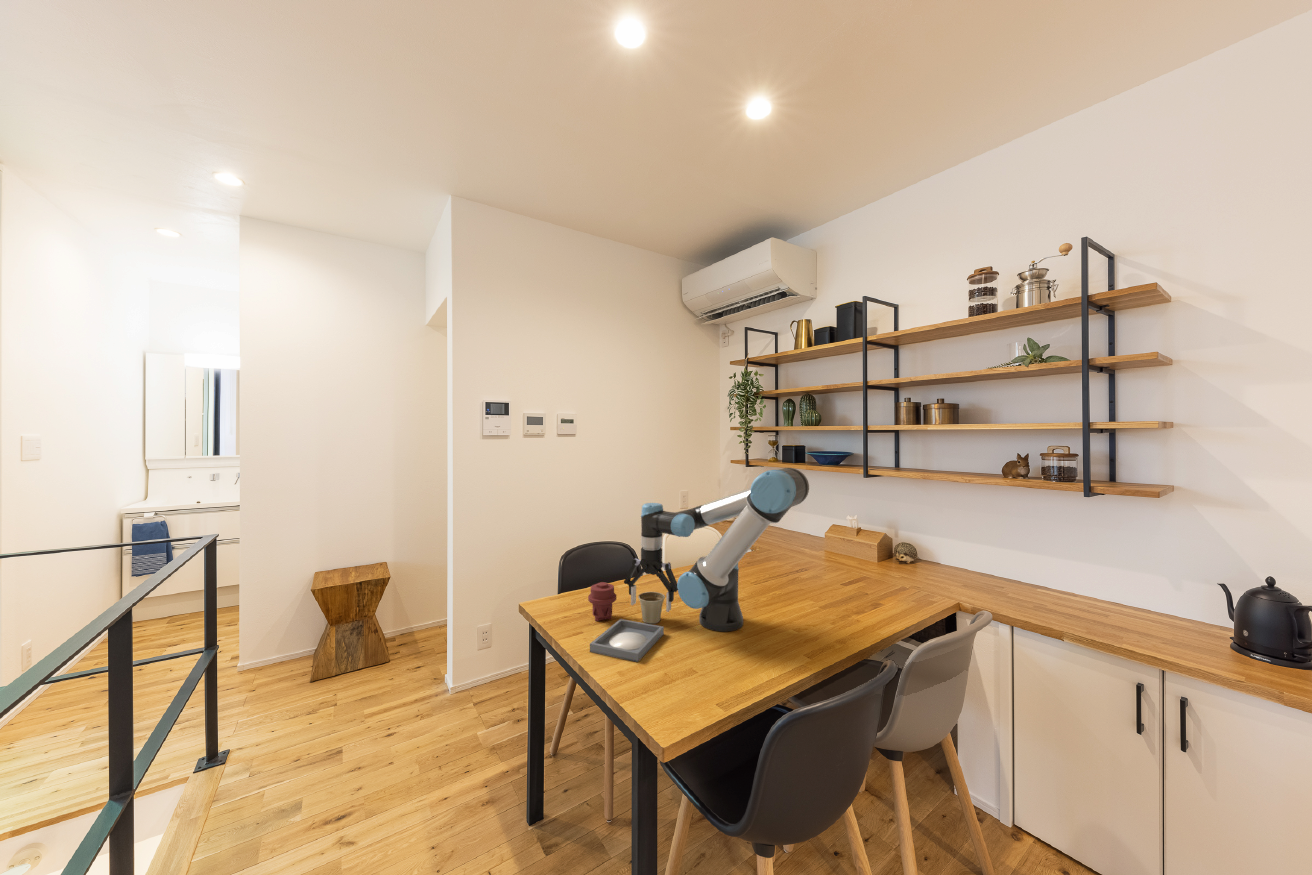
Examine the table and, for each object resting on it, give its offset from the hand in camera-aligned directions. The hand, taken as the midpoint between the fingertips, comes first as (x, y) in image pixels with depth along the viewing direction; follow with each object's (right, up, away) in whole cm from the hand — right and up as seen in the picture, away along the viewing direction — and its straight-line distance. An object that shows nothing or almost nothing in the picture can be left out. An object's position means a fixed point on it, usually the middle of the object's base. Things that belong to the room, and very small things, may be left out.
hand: (650, 607), depth 163 cm
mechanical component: (-17, -5, +2) cm, 18 cm away
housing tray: (-7, -5, -17) cm, 19 cm away
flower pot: (0, -5, 0) cm, 5 cm away
